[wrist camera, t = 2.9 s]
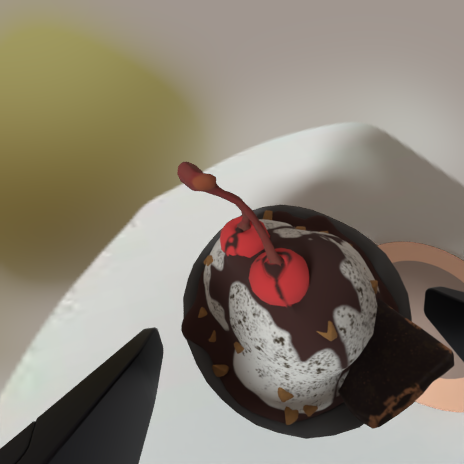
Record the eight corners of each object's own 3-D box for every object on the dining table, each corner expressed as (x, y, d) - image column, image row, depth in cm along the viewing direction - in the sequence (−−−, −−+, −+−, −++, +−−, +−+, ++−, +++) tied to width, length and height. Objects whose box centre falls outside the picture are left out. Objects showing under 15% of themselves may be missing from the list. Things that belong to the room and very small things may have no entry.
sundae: (217, 293, 18) (89, 101, 4) (305, 274, 18) (438, 24, 4) (233, 399, 14) (-47, 831, 1) (341, 375, 14) (1211, 570, 1)
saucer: (554, 401, 13) (573, 404, 12) (367, 416, 13) (373, 420, 13) (455, 238, 18) (464, 232, 17) (320, 254, 18) (323, 250, 17)
